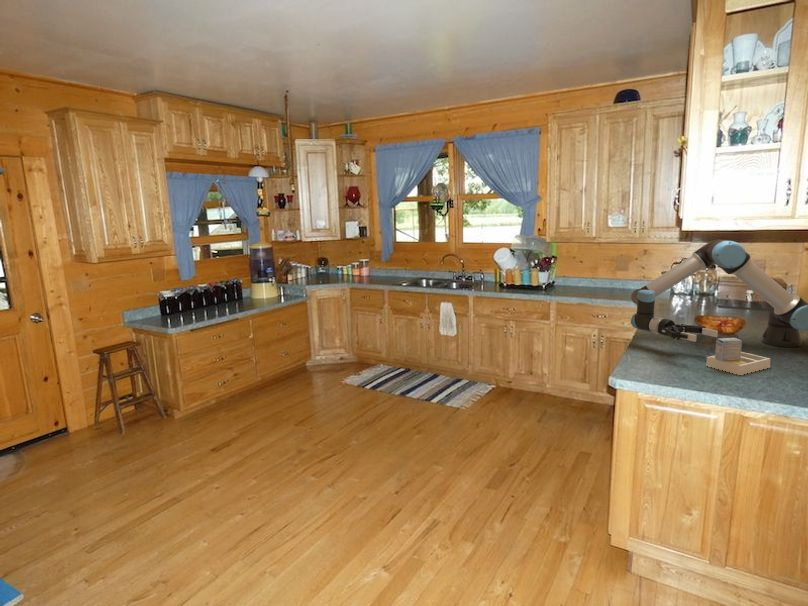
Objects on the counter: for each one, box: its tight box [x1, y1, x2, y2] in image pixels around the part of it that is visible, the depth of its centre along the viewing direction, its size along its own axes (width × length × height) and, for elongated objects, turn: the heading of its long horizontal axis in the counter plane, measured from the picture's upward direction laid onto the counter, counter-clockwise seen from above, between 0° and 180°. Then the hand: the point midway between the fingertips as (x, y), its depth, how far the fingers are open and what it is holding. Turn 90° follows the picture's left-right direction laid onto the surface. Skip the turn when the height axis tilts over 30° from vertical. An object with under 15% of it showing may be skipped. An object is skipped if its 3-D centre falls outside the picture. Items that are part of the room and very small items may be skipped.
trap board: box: [705, 351, 771, 376], centre depth 204 cm, size 19×14×4 cm
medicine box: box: [714, 337, 743, 361], centre depth 200 cm, size 8×4×9 cm, turn 92°
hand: (706, 336), depth 208 cm, fingers open, 13 cm apart
